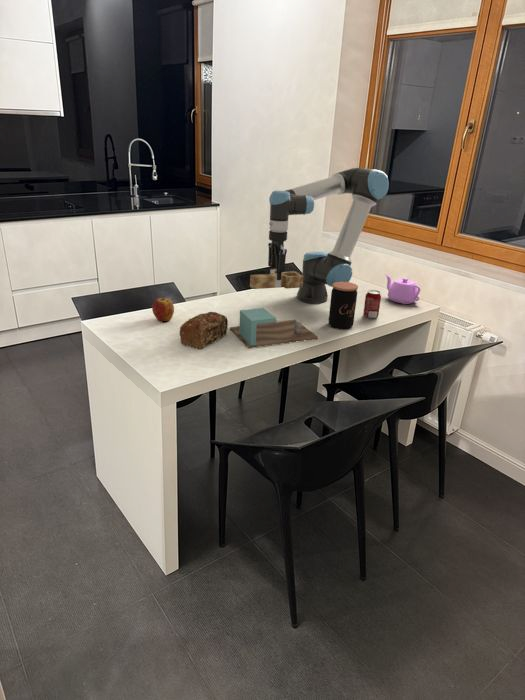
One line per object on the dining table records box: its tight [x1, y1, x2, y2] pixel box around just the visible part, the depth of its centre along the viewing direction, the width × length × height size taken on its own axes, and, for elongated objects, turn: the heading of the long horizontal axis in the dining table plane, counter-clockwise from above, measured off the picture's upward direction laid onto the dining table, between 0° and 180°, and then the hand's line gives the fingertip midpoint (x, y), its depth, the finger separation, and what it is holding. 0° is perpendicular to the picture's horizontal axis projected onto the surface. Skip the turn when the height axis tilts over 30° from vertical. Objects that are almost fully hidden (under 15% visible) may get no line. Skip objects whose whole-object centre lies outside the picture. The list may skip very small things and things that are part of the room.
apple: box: [151, 297, 175, 322], centre depth 207 cm, size 9×9×10 cm
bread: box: [179, 311, 229, 350], centre depth 190 cm, size 19×11×10 cm, turn 150°
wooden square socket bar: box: [249, 270, 303, 290], centre depth 211 cm, size 22×8×5 cm, turn 113°
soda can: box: [362, 289, 382, 320], centre depth 221 cm, size 7×7×12 cm
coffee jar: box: [328, 281, 359, 331], centre depth 209 cm, size 11×11×18 cm
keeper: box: [238, 307, 277, 348], centre depth 191 cm, size 12×10×11 cm
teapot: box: [385, 274, 421, 305], centre depth 246 cm, size 20×13×12 cm, turn 48°
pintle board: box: [229, 319, 318, 349], centre depth 199 cm, size 20×30×6 cm, turn 114°
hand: (275, 285), depth 212 cm, fingers closed on wooden square socket bar, 4 cm apart
